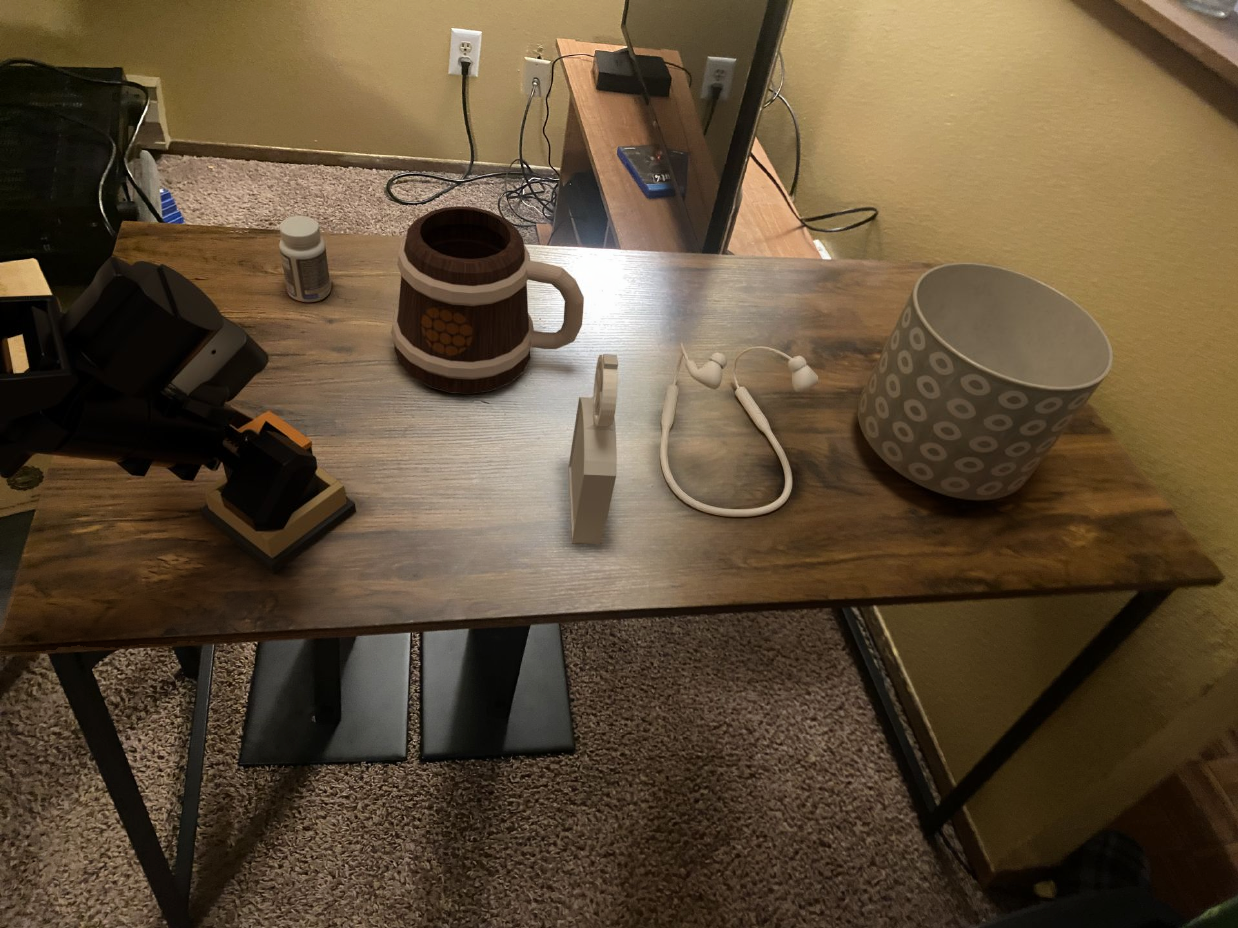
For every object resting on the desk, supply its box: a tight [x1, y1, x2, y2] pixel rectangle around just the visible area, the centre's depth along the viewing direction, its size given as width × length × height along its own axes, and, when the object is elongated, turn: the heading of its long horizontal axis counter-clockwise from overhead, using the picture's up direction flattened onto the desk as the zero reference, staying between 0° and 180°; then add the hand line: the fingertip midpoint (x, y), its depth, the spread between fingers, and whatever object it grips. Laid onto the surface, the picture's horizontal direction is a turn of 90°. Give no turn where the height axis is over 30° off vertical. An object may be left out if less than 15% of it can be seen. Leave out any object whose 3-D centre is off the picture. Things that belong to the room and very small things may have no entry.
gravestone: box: [568, 353, 619, 545], centre depth 73 cm, size 3×9×18 cm, turn 5°
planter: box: [856, 261, 1114, 501], centre depth 85 cm, size 19×19×18 cm
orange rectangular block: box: [221, 410, 319, 512], centre depth 70 cm, size 5×5×8 cm
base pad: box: [199, 466, 357, 575], centre depth 72 cm, size 9×9×4 cm
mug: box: [390, 205, 585, 395], centre depth 86 cm, size 20×15×15 cm
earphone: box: [659, 342, 819, 518], centre depth 85 cm, size 14×17×18 cm
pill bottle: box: [278, 215, 332, 303], centre depth 92 cm, size 5×5×8 cm
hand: (280, 444), depth 68 cm, fingers closed on orange rectangular block, 5 cm apart
